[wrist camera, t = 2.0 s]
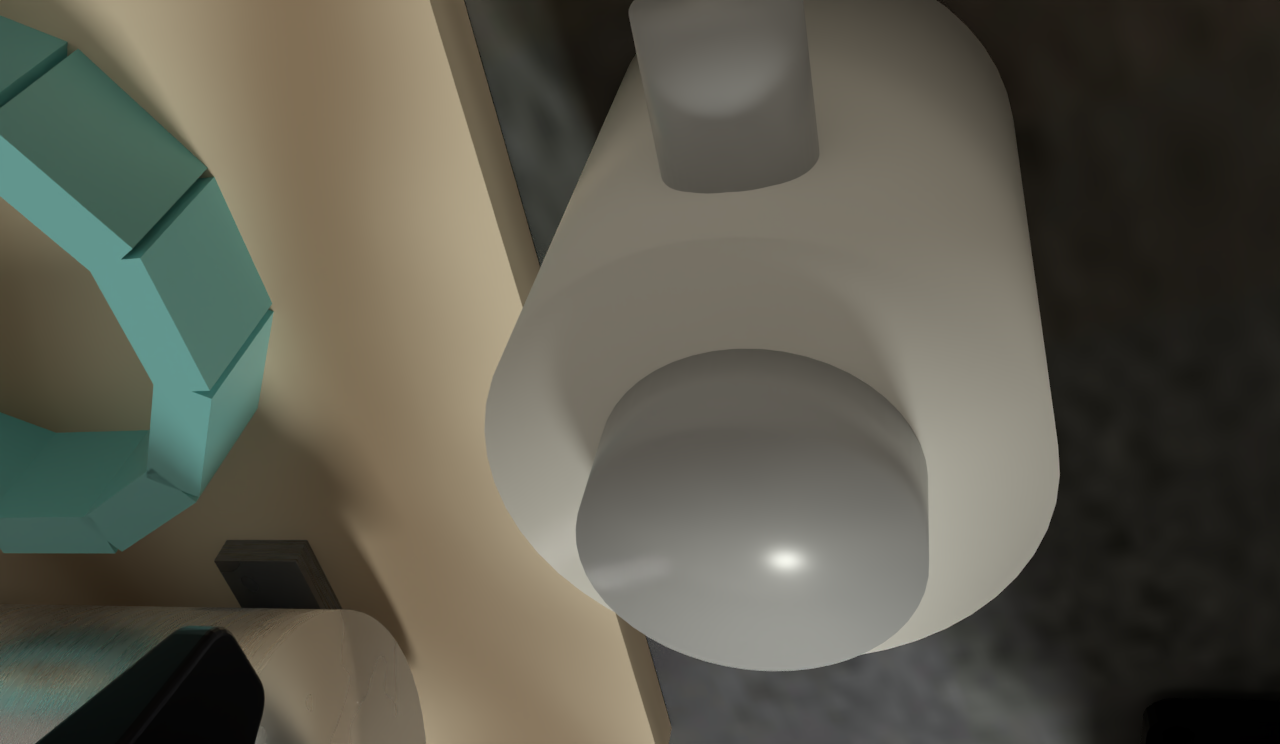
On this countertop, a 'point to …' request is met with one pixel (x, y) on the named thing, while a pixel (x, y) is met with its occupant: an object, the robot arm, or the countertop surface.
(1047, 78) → the countertop surface
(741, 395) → the white capped canister
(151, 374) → the ring
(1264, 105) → the countertop surface
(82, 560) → the mount board
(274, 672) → the cylinder
